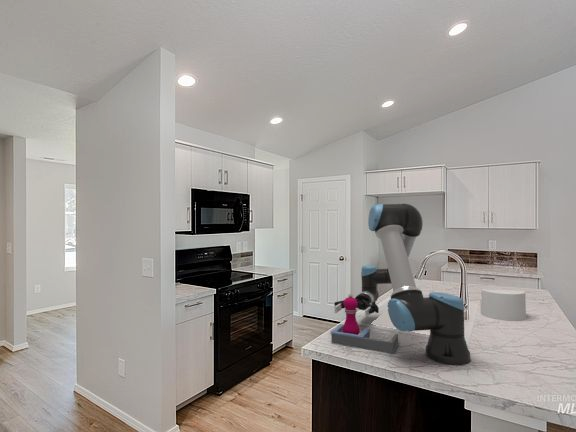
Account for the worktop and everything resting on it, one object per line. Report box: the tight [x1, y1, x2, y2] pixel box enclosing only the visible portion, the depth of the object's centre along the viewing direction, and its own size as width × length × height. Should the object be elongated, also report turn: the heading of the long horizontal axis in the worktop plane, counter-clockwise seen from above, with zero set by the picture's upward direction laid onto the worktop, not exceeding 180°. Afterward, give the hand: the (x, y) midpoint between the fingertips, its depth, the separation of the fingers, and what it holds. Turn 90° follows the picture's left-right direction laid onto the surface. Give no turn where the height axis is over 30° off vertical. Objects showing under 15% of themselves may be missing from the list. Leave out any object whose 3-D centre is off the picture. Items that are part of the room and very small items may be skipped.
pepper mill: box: [343, 293, 361, 335], centre depth 144 cm, size 7×7×20 cm
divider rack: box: [330, 323, 400, 354], centre depth 140 cm, size 26×12×5 cm, turn 61°
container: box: [479, 289, 527, 322], centre depth 175 cm, size 20×20×13 cm
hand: (350, 311), depth 144 cm, fingers open, 13 cm apart
